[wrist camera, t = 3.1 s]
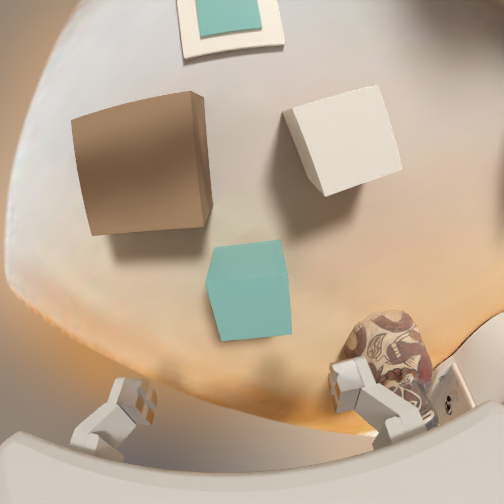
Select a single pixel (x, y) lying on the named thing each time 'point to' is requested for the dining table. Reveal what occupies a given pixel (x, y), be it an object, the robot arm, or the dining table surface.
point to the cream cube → (344, 139)
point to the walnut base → (144, 165)
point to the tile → (228, 25)
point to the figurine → (396, 358)
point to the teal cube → (250, 291)
